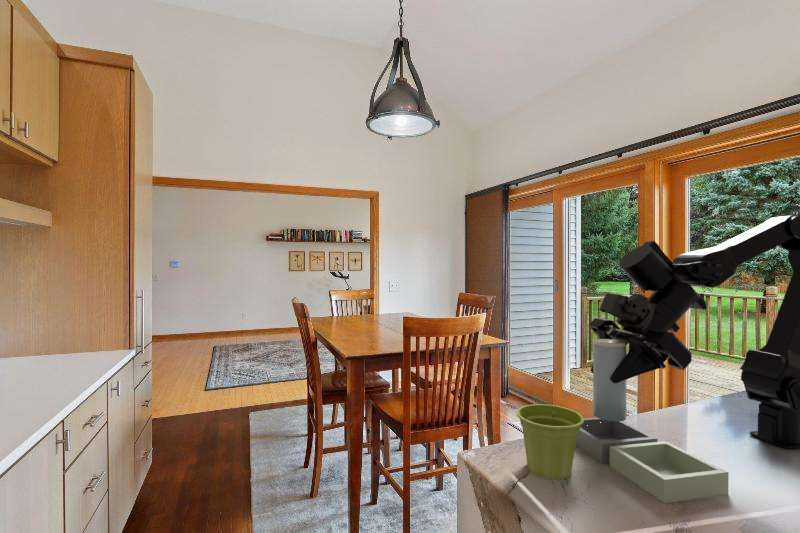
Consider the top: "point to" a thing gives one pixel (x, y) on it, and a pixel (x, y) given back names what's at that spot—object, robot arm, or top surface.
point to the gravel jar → (608, 380)
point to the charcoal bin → (608, 437)
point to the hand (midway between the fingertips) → (601, 377)
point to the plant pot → (550, 438)
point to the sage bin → (669, 471)
